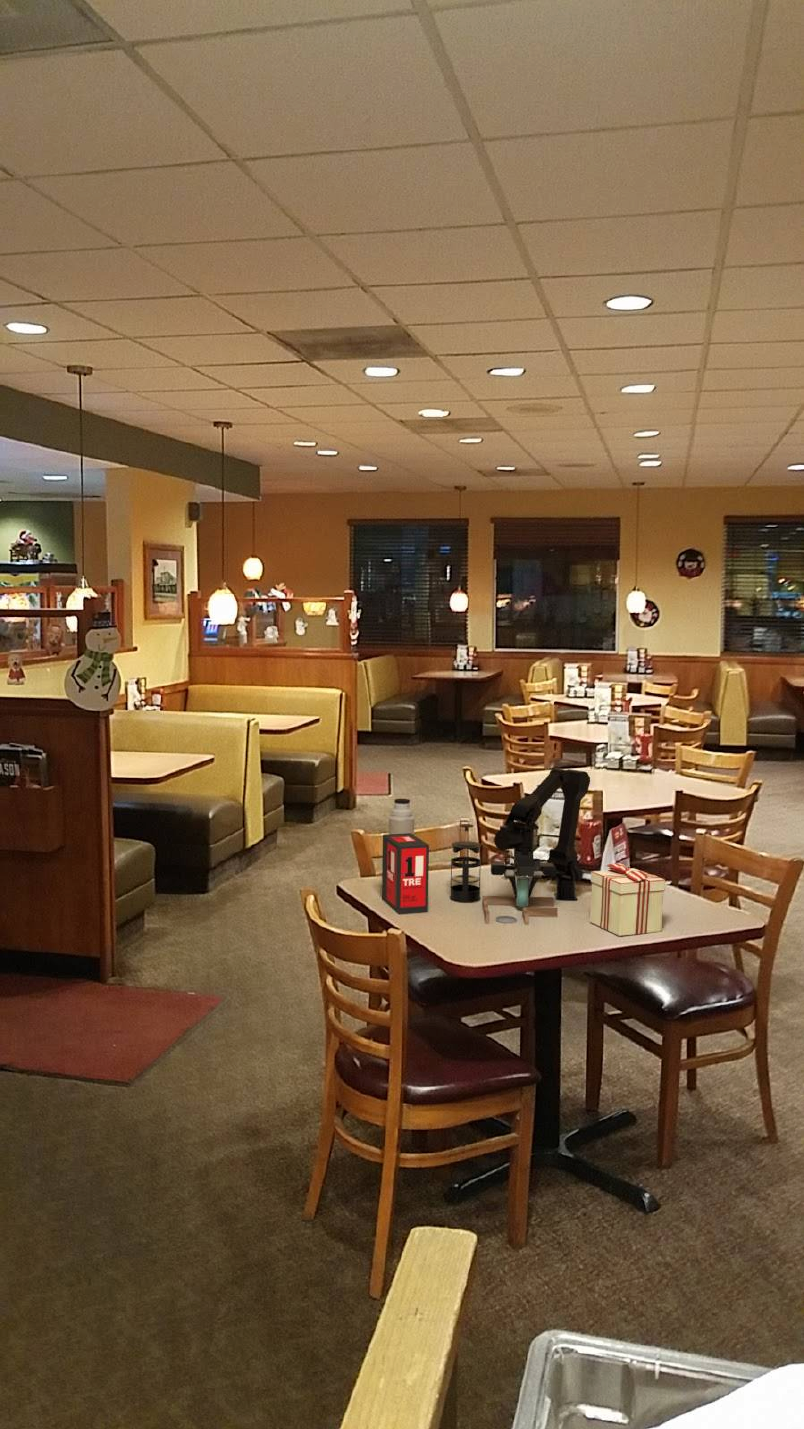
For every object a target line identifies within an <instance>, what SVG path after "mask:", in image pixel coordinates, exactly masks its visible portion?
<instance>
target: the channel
mask: <svg viewBox="0 0 804 1429" xmlns="http://www.w3.org/2000/svg"><path fill="white" fill-rule="evenodd" d="M481 901H482V902H481V903H482V910H483V915H484V920H485V924H486V925H489V924H490V915H491V914H490V910H489V906H507V907H508V906H509V907H511V906H514V907H518V906H517V905H516V898H515V896H509V895H508V896H505V895H504V896H501V895H482V900H481ZM521 908H522V911H521V912H522V914H521V917H522V918H523V919H522V920H523V922H524V925H527V926H528V925H529V918H530V917H532V918H533V917H534V918H535V917H537V918H538V917H540V918H542V917H543V918H558V907H554V897H551V896H549V897H547V896H545V897H543V896H542V897H541V896H530V898H528V906H526V907H521Z"/></svg>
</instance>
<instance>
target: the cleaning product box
mask: <svg viewBox="0 0 804 1429" xmlns="http://www.w3.org/2000/svg"><path fill="white" fill-rule="evenodd" d="M381 858H382V864H381V865H382V870H381V873H382V874H381V878H382V879H381V900H382V901H383V902H384V904H385V903H386V905H387V906H389V907H390V909H392V910H393V911H394V912H395V913H396V914H397V915H409V914H411V915H412V914H421V913H422V914H424V913H425V914H426V913H428V912H429V909H428V908H429V870H430V869H429V867H430V866H429V861H430V845H429V844H428V843H427V842H425V841H423V840H422V839H421V838H419V837H418V836H416V835H415V834H414V835H413V834H411V833H404V834H389V833H388V834H382V857H381Z"/></svg>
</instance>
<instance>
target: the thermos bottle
mask: <svg viewBox="0 0 804 1429" xmlns="http://www.w3.org/2000/svg"><path fill="white" fill-rule="evenodd" d="M393 801H394V805H393V808H392V809H391V812H390V815H389V817H388V834H404V833H411V834H413V835H414V836H415V816H413V813H414V812H413V810H412V808H410V805H411V804H410V802H411V799H409V798H395V799H394V800H393Z"/></svg>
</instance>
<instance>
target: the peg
mask: <svg viewBox="0 0 804 1429" xmlns="http://www.w3.org/2000/svg"><path fill="white" fill-rule="evenodd" d="M529 880H530V877H528V876H518V877H516V890H517V898H516V905H517V906H516V907H521V908H522V907H529V906H528V893H529Z"/></svg>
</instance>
